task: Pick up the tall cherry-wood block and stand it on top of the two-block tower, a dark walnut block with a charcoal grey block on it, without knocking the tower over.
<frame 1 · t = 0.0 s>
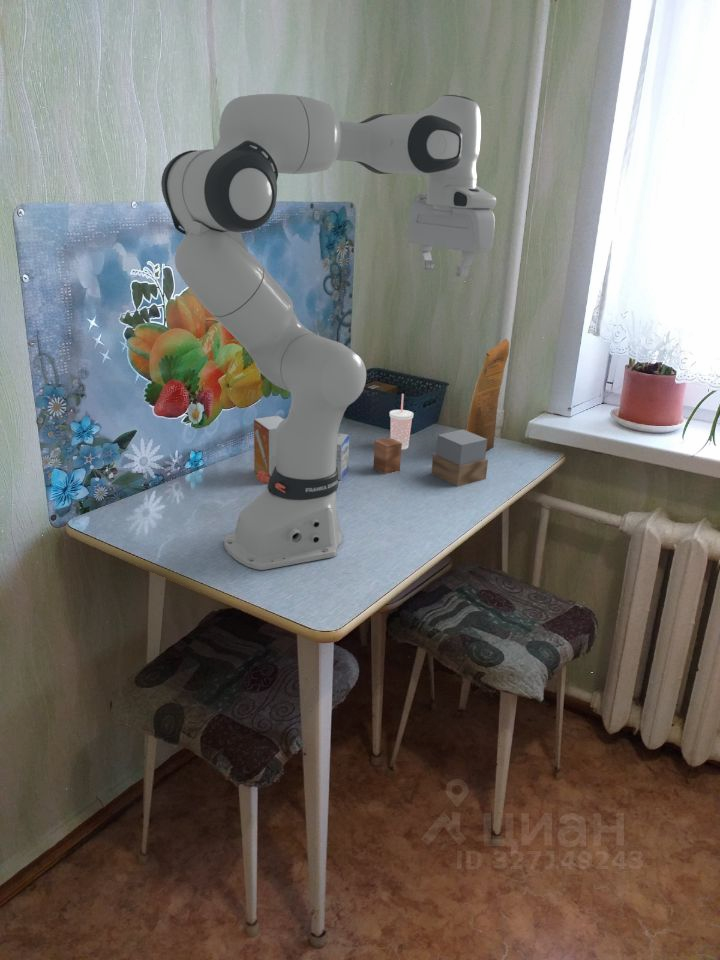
hand: (444, 273, 144), 48 cm above the table, tool pointing down, fingers open, 8 cm apart
pancake mix bag: (479, 451, 195), on the table
tower base: (458, 477, 178), on the table, touching tower top
beverage cup: (399, 447, 196), on the table
tower top: (460, 457, 176), point 5 cm above the table, touching tower base
cherry block: (386, 469, 180), on the table
small box: (273, 477, 173), on the table
medicine box: (335, 474, 176), on the table
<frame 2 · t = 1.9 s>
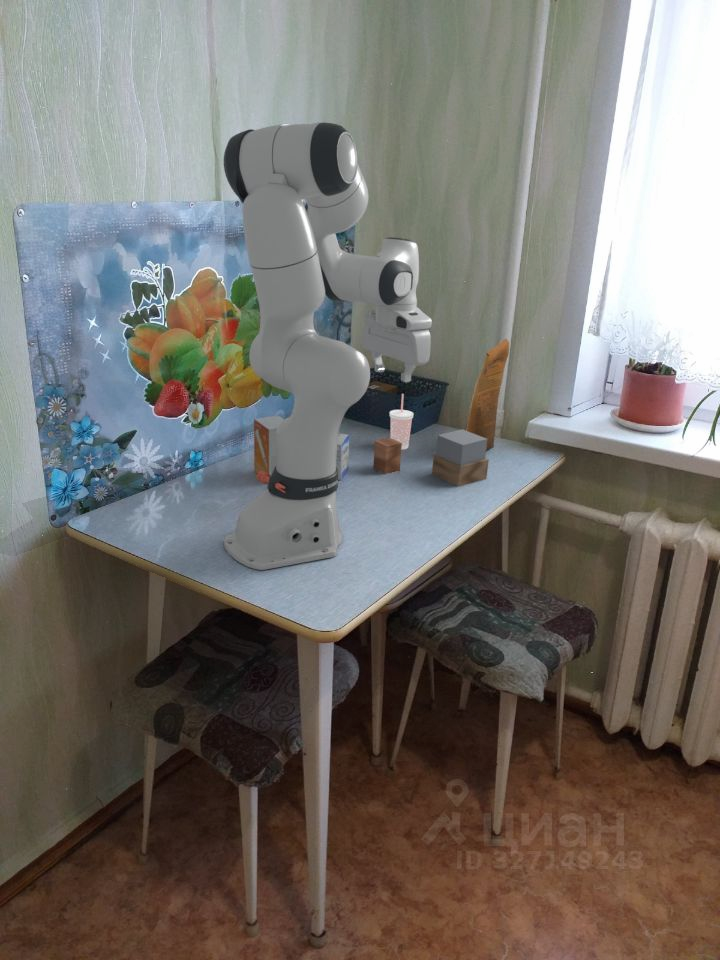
hand: (392, 376, 172), 23 cm above the table, tool pointing down, fingers open, 8 cm apart
nothing on the table moved.
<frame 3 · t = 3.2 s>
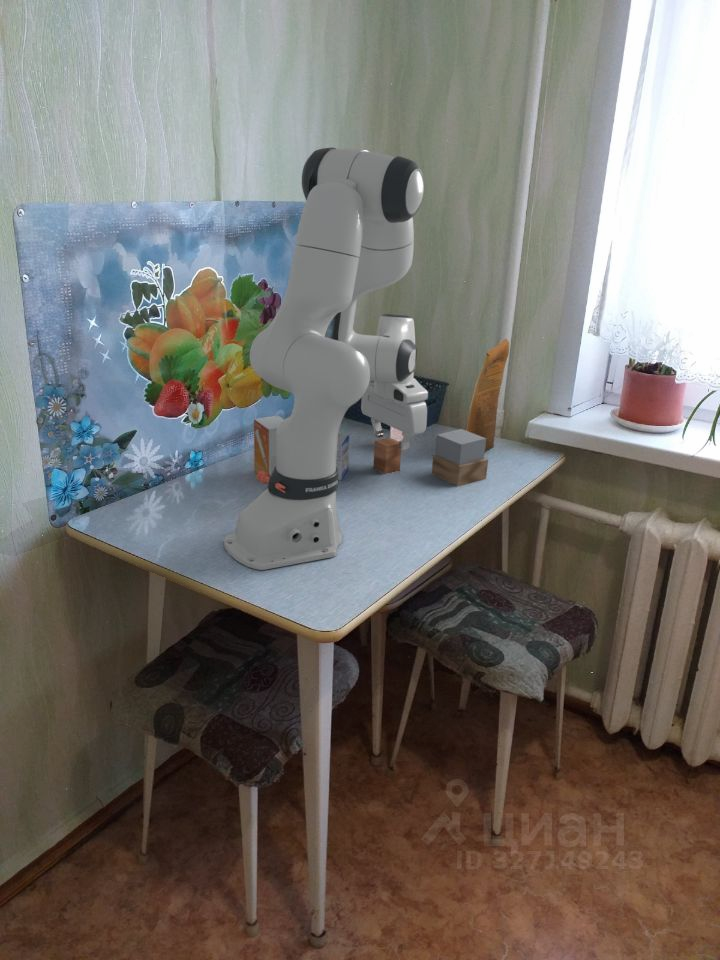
hand: (390, 442, 178), 7 cm above the table, tool pointing down, fingers open, 8 cm apart
nothing on the table moved.
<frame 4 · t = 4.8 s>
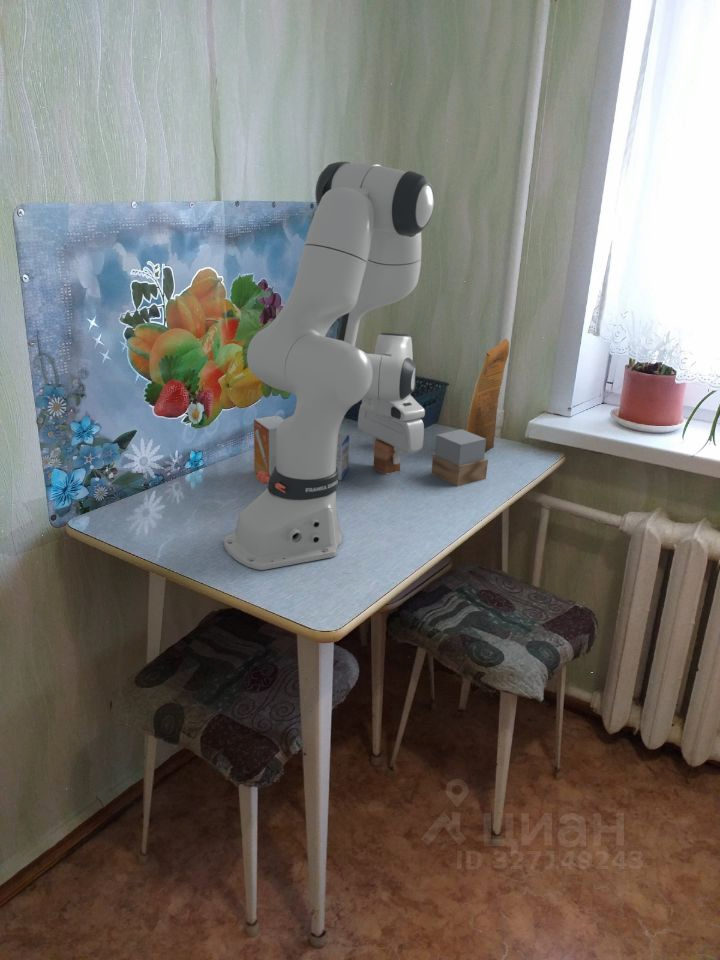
hand: (387, 459, 179), 3 cm above the table, tool pointing down, fingers closed on cherry block, 4 cm apart
cherry block: (386, 469, 180), on the table, touching gripper
everything else where it was.
when the fingers open (14 cm above the table, at t = 11.0 s): cherry block drops 2 cm, resting on tower top.
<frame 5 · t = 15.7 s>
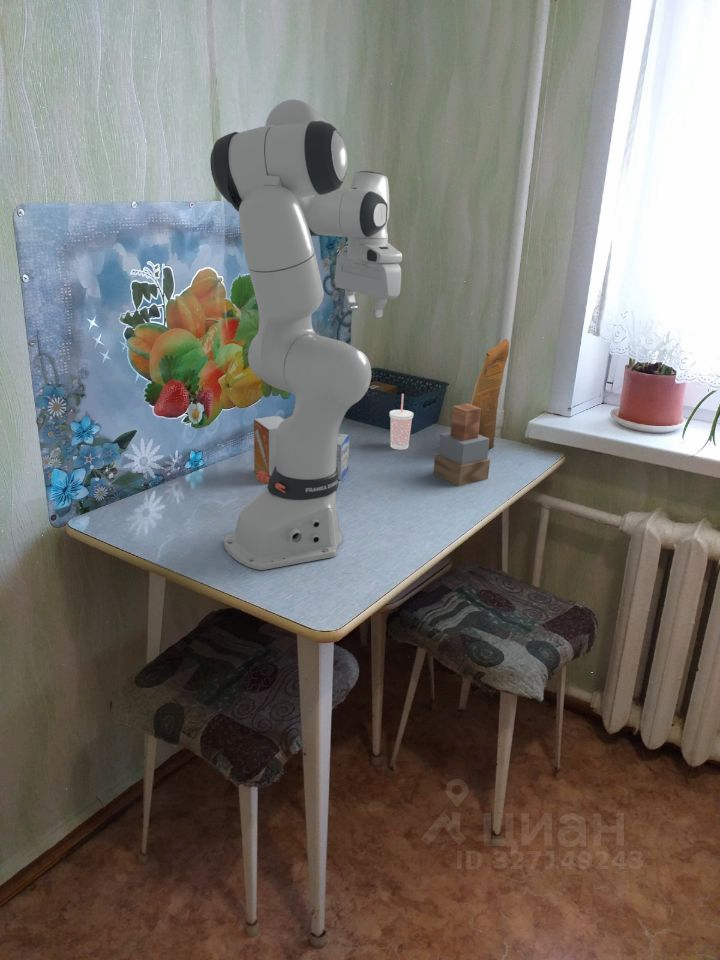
hand: (364, 313, 174), 35 cm above the table, tool pointing down, fingers open, 8 cm apart
tower top: (462, 456, 177), point 5 cm above the table, touching cherry block, tower base
cherry block: (464, 436, 175), point 10 cm above the table, touching tower top
everything else where it was.
at the end: cherry block 0.1 cm from the tower base (horizontally); cherry block point 9.8 cm above the table; tower top 0.2 cm off-centre on the tower base, point 5.0 cm above the tower base's base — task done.
